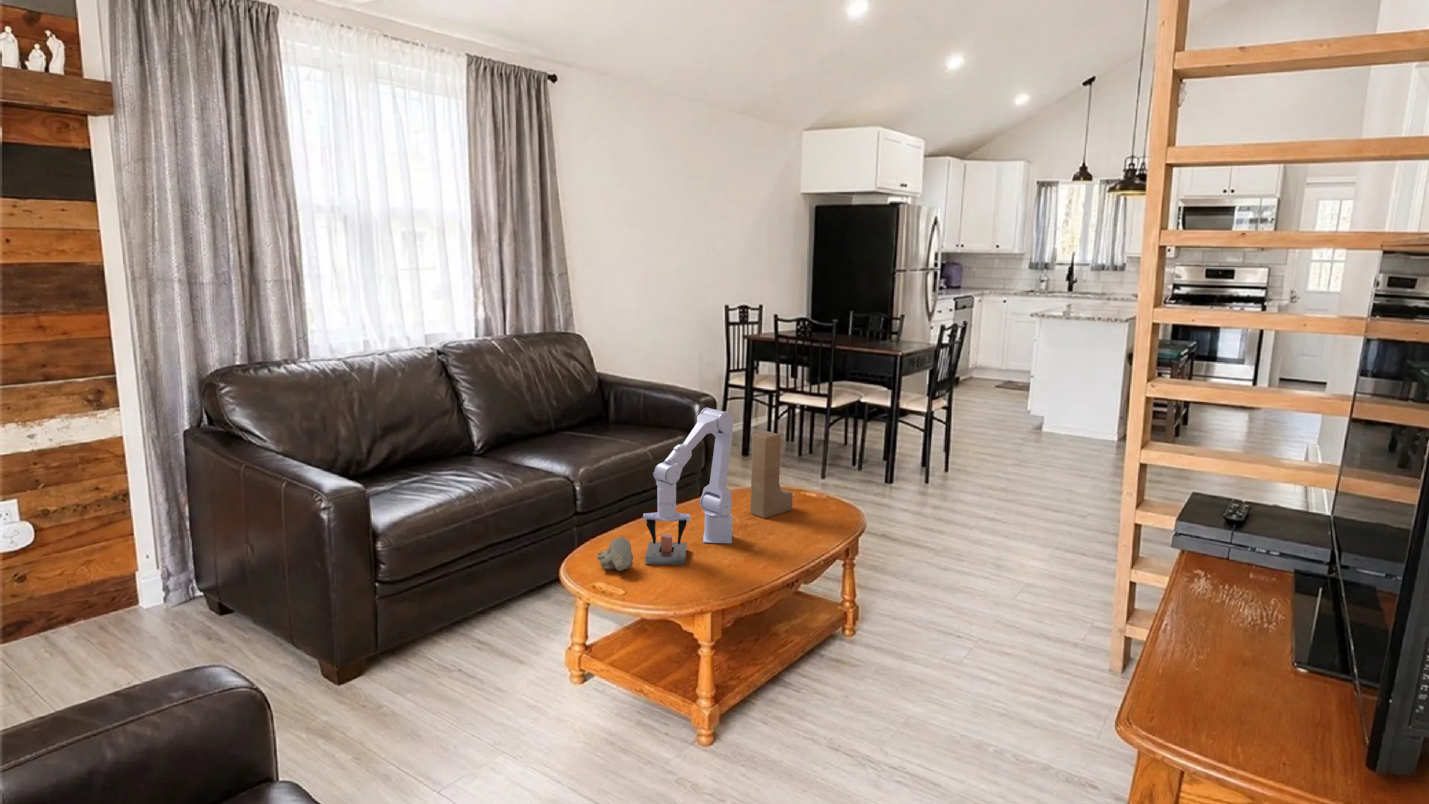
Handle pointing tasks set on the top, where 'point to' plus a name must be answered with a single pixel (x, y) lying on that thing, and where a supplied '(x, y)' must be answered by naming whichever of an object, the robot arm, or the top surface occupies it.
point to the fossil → (617, 555)
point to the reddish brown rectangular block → (666, 543)
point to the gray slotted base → (666, 554)
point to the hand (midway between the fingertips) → (666, 542)
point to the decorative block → (767, 477)
